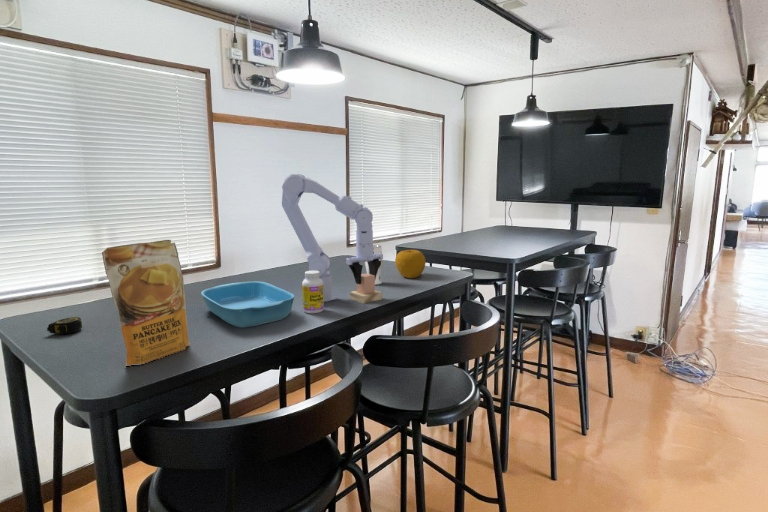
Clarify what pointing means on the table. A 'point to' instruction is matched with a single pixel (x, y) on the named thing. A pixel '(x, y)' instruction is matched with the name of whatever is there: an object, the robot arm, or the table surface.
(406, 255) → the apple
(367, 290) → the clay block
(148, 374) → the table surface
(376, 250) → the beer glass
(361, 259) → the robot arm
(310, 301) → the supplement bottle
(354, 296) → the oak base
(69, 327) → the tape measure
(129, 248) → the pancake mix bag
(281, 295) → the casserole dish
